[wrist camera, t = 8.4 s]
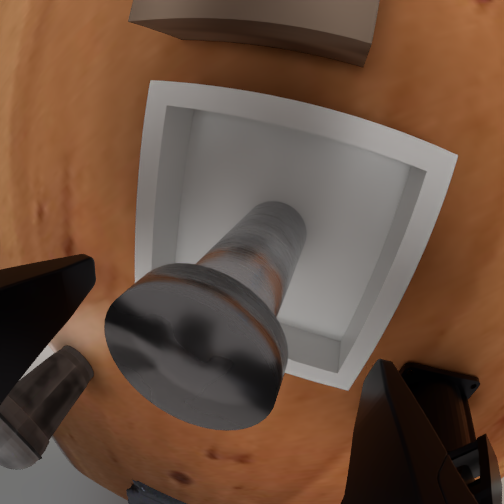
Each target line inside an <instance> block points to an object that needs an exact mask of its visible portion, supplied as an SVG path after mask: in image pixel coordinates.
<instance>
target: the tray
mask: <svg viewBox="0 0 504 504" xmlns="http://www.w3.org/2000/svg"><path fill="white" fill-rule="evenodd" d="M457 158H458V155H456V154H454V153H452V152H450V151H447V150H445V149H443V148H441V147H438V146H436V145H433V144H431V143H429V142H426V141H424V140H421V139H419V138H416V137H414V136H411V135H408V134H406V133H403V132H400V131H398V130H395V129H392V128H389V127H386V126H384V125H381V124H378V123H375V122H372V121H369V120H365V119H362V118H359V117H356V116H353V115H349V114H346V113H342V112H339V111H335V110H332V109H328V108H324V107H320V106H316V105H313V104H308V103H304V102H300V101H296V100H291V99H287V98H282V97H277V96H272V95H267V94H262V93H257V92H251V91H245V90H239V89H232V88H226V87H218V86H211V85H202V84H193V83H183V82H171V81H156V80H150V85H149V91H148V98H147V104H146V111H145V118H144V126H143V134H142V143H141V153H140V163H139V175H138V188H137V205H136V228H135V283H136V282H137V281H138V280H139V279H141V278H142V277H143V276H144V275H146V274H147V273H148V272H150V271H151V270H153V269H155V268H157V267H160V266H163V265H167V264H174V263H189V264H196V263H197V262H198V261H199V260H200V259H201V258H202V257H203V256H204V255H205V254H206V253H207V252H208V251H209V250H210V249H211V248H212V247H213V246H214V245H215V244H216V243H217V242H218V241H220V240H221V239H222V238H223V237H224V236H225V235H226V234H227V233H228V232H229V231H230V230H231V229H232V228H233V227H234V226H235V225H236V224H237V223H238V222H239V221H240V220H241V219H242V218H243V217H244V216H245V215H246V214H248V213H249V212H250V211H251V210H252V209H253V208H254V207H255V206H257V205H258V204H260V203H263V202H267V201H279V202H283V203H285V204H288V205H290V206H291V207H293V208H294V209H295V210H296V211H297V212H298V213H299V214H300V215H301V217H302V219H303V220H304V223H305V226H306V233H307V235H306V241H305V244H304V247H303V250H302V252H301V255H300V258H299V260H298V263H297V266H296V268H295V271H294V274H293V276H292V279H291V282H290V284H289V287H288V289H287V292H286V295H285V297H284V300H283V302H282V305H281V307H280V310H279V312H278V315H277V320H278V321H279V323H280V325H281V327H282V329H283V332H284V334H285V337H286V341H287V345H288V363H287V367H286V370H285V373H288V374H291V375H294V376H298V377H301V378H304V379H308V380H311V381H314V382H318V383H321V384H325V385H329V386H332V387H336V388H340V389H344V390H347V391H348V390H349V389H350V387H351V386H352V384H353V383H354V381H355V379H356V378H357V376H358V375H359V373H360V372H361V370H362V368H363V367H364V365H365V364H366V362H367V360H368V359H369V357H370V355H371V354H372V352H373V350H374V349H375V347H376V345H377V343H378V342H379V340H380V338H381V336H382V335H383V333H384V331H385V329H386V327H387V326H388V324H389V322H390V320H391V318H392V316H393V314H394V313H395V311H396V309H397V307H398V305H399V303H400V301H401V299H402V297H403V295H404V293H405V291H406V289H407V287H408V285H409V283H410V281H411V278H412V276H413V274H414V272H415V270H416V268H417V265H418V263H419V261H420V259H421V257H422V254H423V252H424V250H425V247H426V245H427V242H428V240H429V238H430V235H431V233H432V230H433V228H434V225H435V223H436V220H437V217H438V215H439V212H440V209H441V207H442V204H443V201H444V198H445V195H446V193H447V190H448V187H449V184H450V181H451V178H452V174H453V171H454V168H455V165H456V161H457Z"/></svg>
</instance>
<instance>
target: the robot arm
mask: <svg viewBox="0 0 504 504" xmlns="http://www.w3.org/2000/svg"><path fill="white" fill-rule="evenodd" d="M95 281H96V276H95V263H94V260H93V258H92V257H90V256H87V255H85V254H79V255H74V256H68V257H63V258H58V259H52V260H47V261H42V262H37V263H31V264H26V265H21V266H16V267H11V268H6V269H1V270H0V405H1V403H2V402H3V401H4V400H5V398H6V397H7V396H8V394H9V393H10V392H11V390H12V389H13V388H14V386H15V385H16V384H17V382H18V381H19V379H20V378H21V377H22V376H23V374H24V373H25V372H26V371H27V369H28V368H29V367H30V366H31V364H32V363H33V362H34V361H35V359H36V358H37V357H38V355H39V354H40V353H41V352H42V351H43V349H44V348H45V347H46V346H47V345H48V344H49V342H50V341H51V340H52V339H53V338H54V336H55V335H56V334H57V333H58V332H59V331H60V329H61V328H62V327H63V326H64V325H65V324H66V322H67V321H68V320H69V319H70V318H71V316H72V315H73V314H74V312H75V311H76V309H77V308H78V307H79V305H80V304H81V303H82V301H83V300H84V298H85V297H86V296H87V294H88V293H89V292H90V290H91V289H92V288H93V286H94V284H95ZM409 370H412V371H409ZM479 385H480V383H479V379H478V378H477V377H472V376H467V375H463V374H458V373H454V372H449V371H445V370H441V369H436V368H432V367H428V366H424V365H420V364H416V363H408V364H406V365H404V366H403V368H402V369H401V370H400V372H398V370H397V369H396V367H395V365H394V364H393V363H392V362H391V361H387V360H383V359H379V360H377V361H376V363H375V364H374V366H373V367H372V369H371V370H370V372H369V374H368V375H367V377H366V378H365V380H364V383H363V388H362V393H361V398H360V403H359V408H358V413H357V417H356V422H355V426H354V432H353V439H352V447H351V455H350V463H349V470H348V476H347V483H346V489H345V495H344V497H343V500H342V502H341V504H502V483H501V477H500V472H499V466H498V461H497V457H496V455H495V453H494V450H493V448H492V446H491V444H490V441H489V439H488V437H487V435H486V434H484V435H482V436H480V437H478V438H477V440H476V437H475V432H474V427H473V422H472V417H471V413H470V408H469V404H468V399H469V398H470V396H471V395H472V394H473V393H474V392H475V391H476V389H477V388H478V387H479ZM478 476H480V478H479V479H477V480H475V479H474V478H476V477H478Z"/></svg>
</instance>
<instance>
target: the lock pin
mask: <svg viewBox="0 0 504 504" xmlns="http://www.w3.org/2000/svg"><path fill="white" fill-rule="evenodd" d="M306 235H307V233H306V226H305V223H304V220H303V219H302V217H301V215H300V214H299V213H298V212H297V211H296V210H295V209H294V208H293V207H291V206H290V205H288V204H285V203H283V202H279V201H267V202H263V203H260V204H258V205H257V206H255V207H254V208H253V209H252V210H251V211H250V212H249V213H248V214H246V215H245V216H244V217H243V218H242V219H241V220H240V221H239V222H238V223H237V224H236V225H235V226H234V227H233V228H232V229H231V230H230V231H229V232H228V233H227V234H226V235H225V236H224V237H223V238H222V239H221V240H220V241H218V242H217V243H216V244H215V245H214V246H213V247H212V248H211V249H210V250H209V251H208V252H207V253H206V254H205V255H204V256H203V257H202V258H201V259H200V260H199V261H198V262H197V263H196V264H189V263H174V264H167V265H163V266H160V267H157V268H155V269H153V270H151V271H150V272H148V273H147V274H146V275H144V276H143V277H142V278H141V279H139V280H138V281H137V282H136V283H135V284H134V285H132V286H131V287H130V288H129V289H128V290H127V291H125V292H124V293H123V294H122V295H121V296H120V297H118V298H117V299H116V300H115V301H114V302H113V303H112V305H111V306H110V308H109V310H108V312H107V314H106V318H105V327H104V328H105V337H106V342H107V345H108V348H109V351H110V353H111V355H112V357H113V360H114V361H115V363H116V365H117V366H118V368H119V370H120V371H121V372H122V374H123V375H124V376H125V378H126V379H127V380H128V381H129V383H130V384H131V385H132V386H133V387H134V388H135V389H136V390H137V391H138V392H139V393H140V394H142V395H143V396H144V397H145V398H146V399H147V400H149V401H150V402H151V403H153V404H154V405H156V406H157V407H158V408H160V409H161V410H163V411H165V412H167V413H168V414H170V415H172V416H174V417H176V418H178V419H180V420H183V421H185V422H188V423H190V424H194V425H197V426H200V427H204V428H209V429H215V430H239V429H244V428H248V427H251V426H254V425H256V424H258V423H259V422H261V421H262V420H264V419H265V418H266V417H267V416H268V415H269V414H270V412H271V411H272V409H273V407H274V404H275V401H276V398H277V395H278V392H279V389H280V386H281V383H282V379H283V376H284V373H285V370H286V367H287V363H288V345H287V341H286V337H285V334H284V332H283V329H282V327H281V325H280V323H279V321H278V320H277V315H278V312H279V310H280V307H281V305H282V302H283V300H284V297H285V295H286V292H287V289H288V287H289V284H290V282H291V279H292V276H293V274H294V271H295V268H296V266H297V263H298V260H299V258H300V255H301V252H302V250H303V247H304V244H305V241H306Z"/></svg>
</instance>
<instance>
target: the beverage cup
mask: <svg viewBox="0 0 504 504" xmlns="http://www.w3.org/2000/svg"><path fill="white" fill-rule="evenodd" d="M92 377H93V370H92V368H91V366H90V364H89V363H88V361H87V360H86V359H85V358H84V357H83V356H82V355H81V354H80V353H79V352H78V351H77V350H75V349H74V348H72V347H70V346H64V347H63V348H62V349H61V350H59V351H58V352H56V353H54V354H53V355H52V356H50V357H49V358H48V359H46V360H45V361H44V362H43V363H41V364H40V365H39V366H37V367H36V368H35V369H33V370H32V371H31V372H30V373H28V374H27V375H26V376H25V377H23V378H22V379H21V380H19V381H18V382H17V384H16V385H15V386H14V388H13V389H12V390H11V392H10V393H9V394H8V396H7V397H6V398H5V400H4V401H3V402H2V403H1V405H0V465H1V466H4V467H6V468H9V469H16V470H17V469H24V468H28V467H30V466H32V465H33V464H34V463H35V462H36V461H37V460H40V459H41V458H42V457H41V455H42V454H43V453H44V451H45V449H46V447H47V445H48V443H49V439H50V438H51V436H52V435H53V433H54V432H55V431H56V429H57V428H58V426H59V425H60V423H61V422H62V420H63V419H64V417H65V416H66V415H67V413H68V412H69V410H70V409H71V407H72V406H73V405H74V403H75V402H76V400H77V399H78V398H79V396H80V395H81V393H82V392H83V391H84V389H85V388H86V386H87V384H88V383H89V381H90V379H91V378H92Z"/></svg>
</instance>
